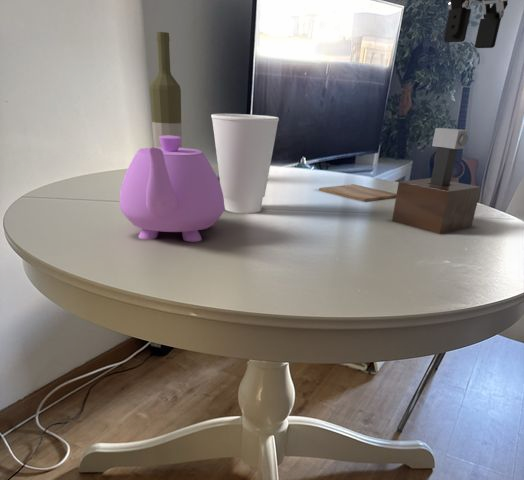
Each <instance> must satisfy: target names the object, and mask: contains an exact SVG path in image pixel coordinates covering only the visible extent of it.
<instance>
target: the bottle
mask: <svg viewBox="0 0 524 480" xmlns="http://www.w3.org/2000/svg"><path fill="white" fill-rule="evenodd" d="M170 41H171V40H170V33H169V32H167V31H156V43H157V45H156V46H157V60H158V61H157V65H158V66H157V67H158V71H157V74H156V76H155V77H154V78H153V80H152V81H151V83H150V84H149V100H150V113H151V126H152V128H151V129H152V141H153V147H162V145H161V143H160V140H159V137H160V136H166V135H170V136H179V137H181V142H180V145H179V148H183V144H182V143H183V139H182V135H183V134H182V89H181V86H180V84H179V83H178V81H177V80H176V79H175V77H174V76H173V75H172V72H171V54H170V53H171V52H170V50H171V49H170Z"/></svg>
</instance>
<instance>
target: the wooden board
mask: <svg viewBox="0 0 524 480" xmlns="http://www.w3.org/2000/svg"><path fill="white" fill-rule="evenodd" d="M318 191H320V192H323V193H328V194H331V195H336V196H339V197H344V198H348V199H352V200H355V201H360V202H364V203H365V202H372V201H380V200H386V199H393V198H395V199H396V195H397V193H395V192H391V191H385V190H382V189H377V188H373V187H367V186H363V185H358V184H352V183H351V184H343V185H334V186H324V187H318Z"/></svg>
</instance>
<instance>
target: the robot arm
mask: <svg viewBox="0 0 524 480" xmlns="http://www.w3.org/2000/svg"><path fill="white" fill-rule="evenodd" d="M508 1H509V0H449V1H448V4H447V7H448V8H447V9H448V15H447V21H446V26H445V32H444V37H443V42H445V43H463V42H465V40H466V37H467V32H468V27H469V22H470V18H471V13H472V12H471V11H472V9H471V8H469V7H470V6H471V4H472V2H475V3H479V4H481V6H482V17H483V18H480V19H479V24H478V28H477V33H476V38H475V42H474V48H476V49H493V48H494V47H496V42H497V38H498V34H499V29H500V26H501V21H502V19H503V18H504V14H505V10H506V8H507V6H508V3H509V2H508Z"/></svg>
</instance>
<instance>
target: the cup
mask: <svg viewBox="0 0 524 480" xmlns="http://www.w3.org/2000/svg"><path fill="white" fill-rule="evenodd" d="M210 117H211V122H212V129H213V137H214V144H215V153H216V160H217V168H218V175H219V177H218V178H219V183H220V186H221V189H222V193H223V198H224V210H225V211H227V212H230V213H237V214H254V213H255V214H256V213H259V212H262V211H261V210H262V205H263V199H264V198H265V196H266V191H267V185H268V179H269V175H270V169H271V163H272V157H273V152H274V147H275V141H276V135H277V130H278V124H279V121H280V118H279V117H278V116H272V115H261V114H260V115H259V114H245V113H243V114H242V113H212V114H211V115H210Z"/></svg>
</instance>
